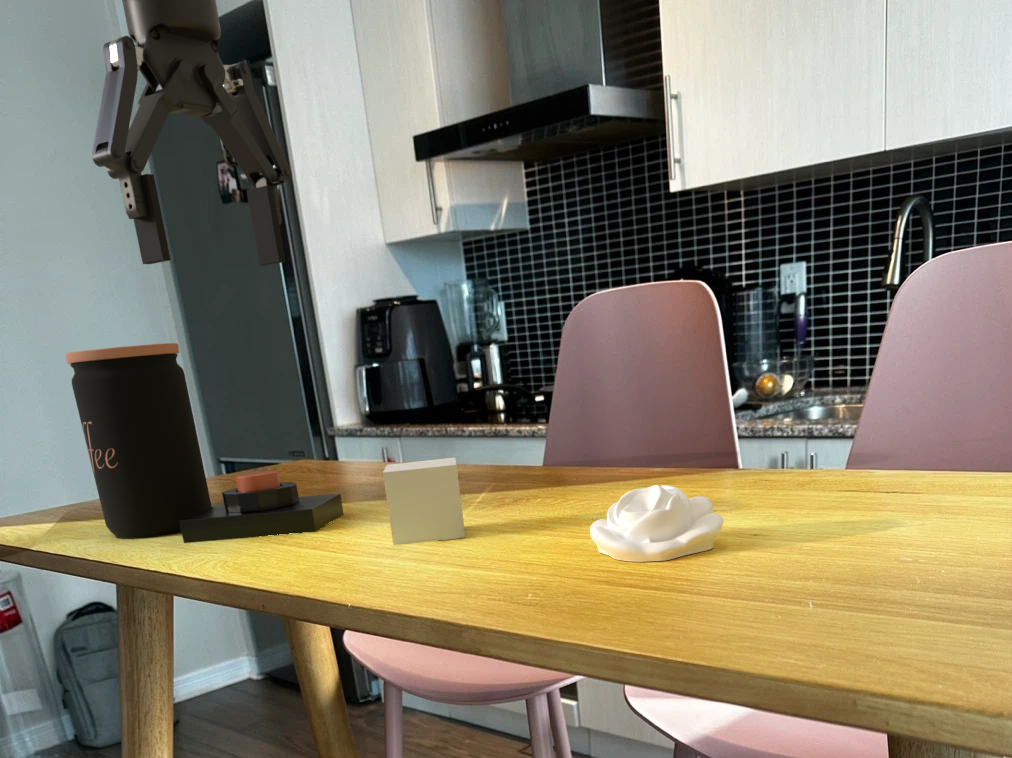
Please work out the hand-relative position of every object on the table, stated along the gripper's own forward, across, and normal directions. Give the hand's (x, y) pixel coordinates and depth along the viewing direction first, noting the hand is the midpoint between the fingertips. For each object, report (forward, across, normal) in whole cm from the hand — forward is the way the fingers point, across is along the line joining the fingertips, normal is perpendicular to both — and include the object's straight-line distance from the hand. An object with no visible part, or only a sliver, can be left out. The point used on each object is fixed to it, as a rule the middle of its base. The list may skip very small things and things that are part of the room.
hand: (217, 263), depth 93 cm
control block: (+24, 0, 0) cm, 24 cm away
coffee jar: (+24, -1, +14) cm, 28 cm away
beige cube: (+24, -2, -22) cm, 32 cm away
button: (+20, 0, 0) cm, 21 cm away
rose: (+24, -5, -45) cm, 51 cm away
